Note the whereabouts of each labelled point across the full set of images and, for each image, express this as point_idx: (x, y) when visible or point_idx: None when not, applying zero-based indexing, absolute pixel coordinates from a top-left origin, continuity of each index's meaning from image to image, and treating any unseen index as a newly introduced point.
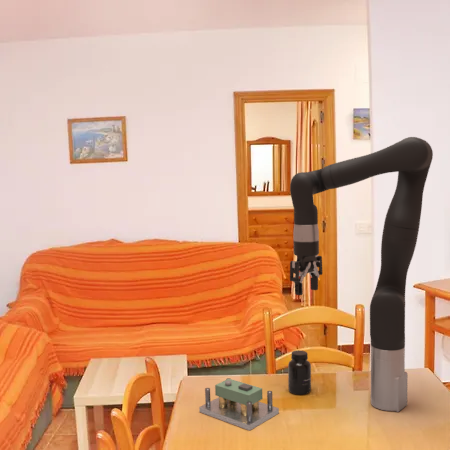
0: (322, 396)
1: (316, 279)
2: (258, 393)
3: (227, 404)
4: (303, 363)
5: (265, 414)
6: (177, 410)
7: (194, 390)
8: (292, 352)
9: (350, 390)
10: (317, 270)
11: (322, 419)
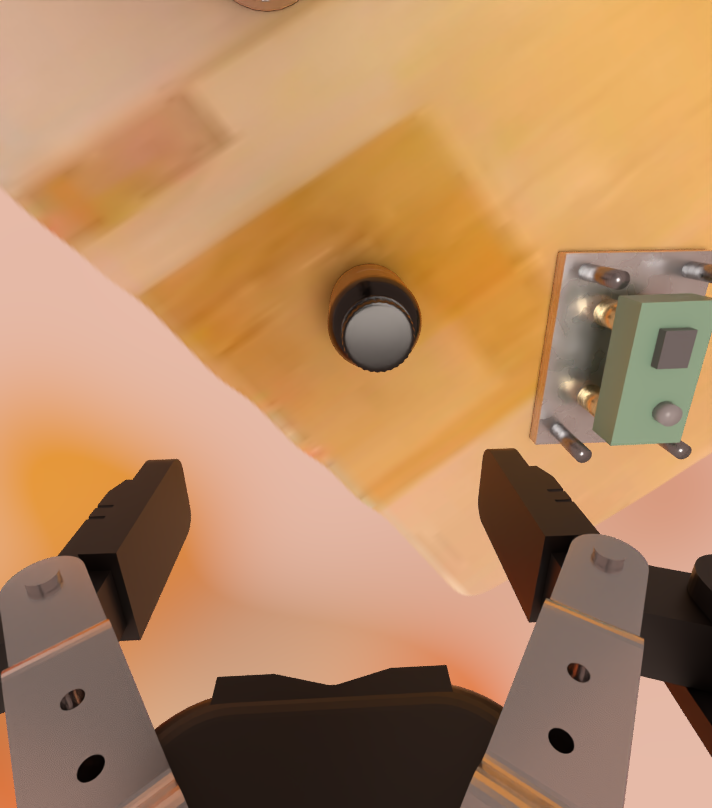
0: (358, 210)
1: (121, 547)
2: (657, 299)
3: None
4: (393, 296)
5: (629, 258)
6: (667, 479)
7: None
8: (395, 364)
9: (242, 150)
10: (47, 665)
11: (528, 95)
